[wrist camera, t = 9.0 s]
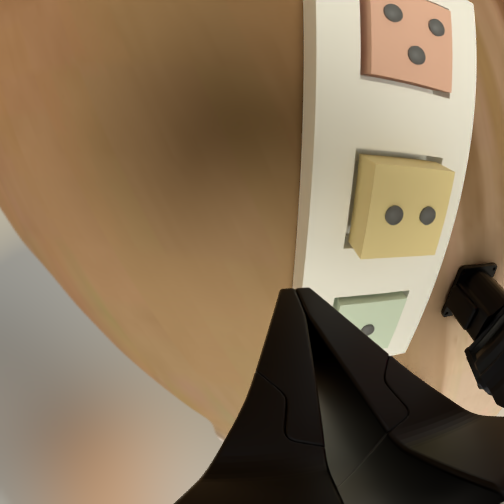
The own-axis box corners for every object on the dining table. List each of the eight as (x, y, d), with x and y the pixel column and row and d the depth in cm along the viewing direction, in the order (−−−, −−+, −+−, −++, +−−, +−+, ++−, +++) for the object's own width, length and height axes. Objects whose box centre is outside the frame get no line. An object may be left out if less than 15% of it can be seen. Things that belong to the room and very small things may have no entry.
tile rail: (449, 7, 13) (473, 3, 10) (394, 332, 29) (405, 352, 27) (301, -34, 12) (313, -51, 10) (286, 346, 29) (291, 369, 26)
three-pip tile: (431, 14, 13) (452, 10, 10) (431, 90, 16) (453, 93, 14) (354, -9, 12) (370, -19, 10) (355, 74, 15) (372, 73, 13)
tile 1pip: (395, 281, 24) (408, 299, 22) (379, 331, 27) (388, 349, 25) (332, 287, 24) (341, 307, 22) (321, 338, 27) (328, 358, 25)
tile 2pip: (435, 161, 17) (457, 173, 15) (419, 238, 20) (436, 256, 18) (359, 153, 17) (377, 164, 15) (348, 241, 20) (361, 261, 18)
